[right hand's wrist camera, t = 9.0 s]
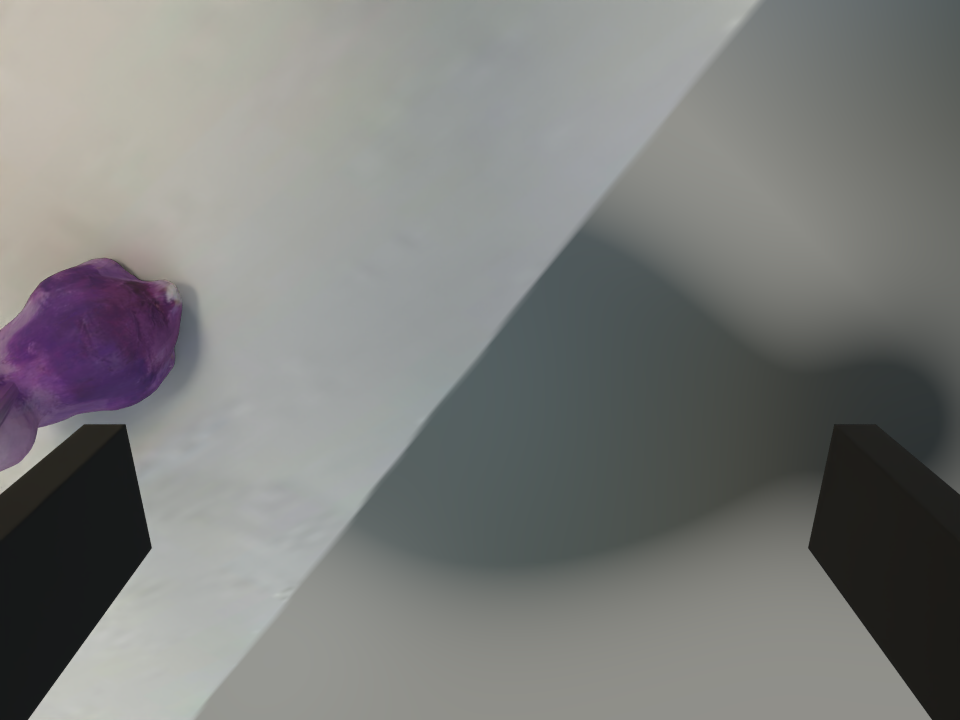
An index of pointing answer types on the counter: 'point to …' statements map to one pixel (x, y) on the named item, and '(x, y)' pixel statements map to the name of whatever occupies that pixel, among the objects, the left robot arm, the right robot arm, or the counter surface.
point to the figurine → (83, 349)
